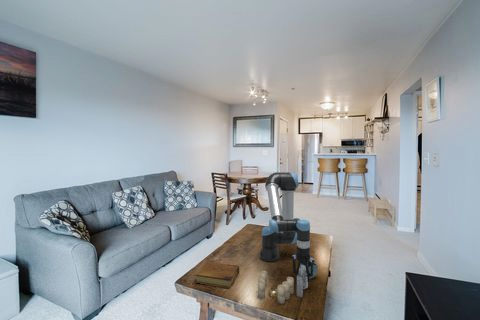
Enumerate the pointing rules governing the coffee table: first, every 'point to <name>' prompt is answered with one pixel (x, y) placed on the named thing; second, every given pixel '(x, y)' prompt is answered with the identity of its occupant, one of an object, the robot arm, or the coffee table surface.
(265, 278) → the posts
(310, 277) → the flower pot
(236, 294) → the coffee table surface
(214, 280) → the diary
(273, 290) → the brass round knob
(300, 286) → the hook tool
